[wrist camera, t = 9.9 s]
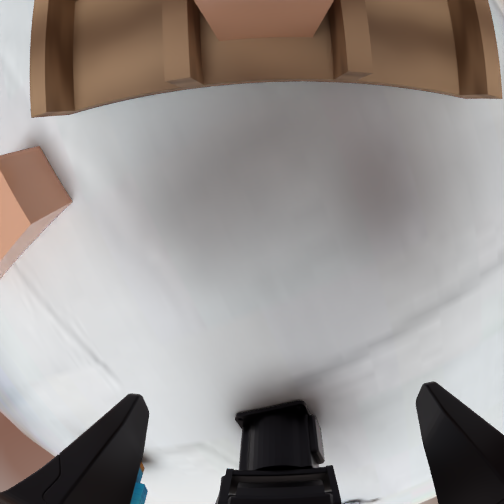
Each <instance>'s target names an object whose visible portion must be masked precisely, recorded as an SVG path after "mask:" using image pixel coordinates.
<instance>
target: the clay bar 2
mask: <svg viewBox="0 0 504 504" xmlns="http://www.w3.org/2000/svg"><path fill="white" fill-rule="evenodd" d="M333 1H334V0H194V2H195V3H196V5H197V6H198V8H199V9H200V11H201V13H202V14H203V16H204V17H205V19H206V21H207V22H208V24H209V25H210V27H211V29H212V30H213V32H214V34H215V35H216V37H217V39H218V40H219V41H225V40H235V39H249V38H268V37H313V36H314V34H315V32H316V31H317V29H318V27H319V25H320V23H321V22H322V20H323V18H324V17H325V15H326V13H327V11H328V10H329V8H330V6H331V5H332V3H333Z"/></svg>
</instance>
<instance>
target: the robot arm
mask: <svg viewBox="0 0 504 504" xmlns="http://www.w3.org/2000/svg"><path fill="white" fill-rule="evenodd" d="M416 409H417V414H418V419H419V424H420V430H421V436H422V441H423V445H424V449H425V453H426V456H427V460H428V464H429V467H430V471H431V475H432V479H433V483H434V487H435V491H436V495H437V499H438V503H439V504H504V435H503V434H502V433H500V432H499V431H498V430H497V429H495V428H494V427H493V426H492V425H490V424H489V423H488V422H486V421H485V420H484V419H483V418H481V417H480V416H479V415H477V414H476V413H475V412H474V411H472V410H471V409H470V408H468V407H467V406H466V405H465V404H463V403H462V402H461V401H459V400H458V399H457V398H456V397H454V396H453V395H452V394H450V393H449V392H448V391H447V390H445V389H444V388H443V387H441V386H440V385H439V384H438V383H436V382H428V383H424V384H423V385H422V387H421V389H420V392H419V394H418V397H417V399H416ZM148 419H149V410H148V408H147V406H146V403H145V401H144V399H143V397H142V396H141V395H140V394H128V395H127V396H126V397H125V398H123V399H122V400H121V401H120V402H119V403H118V404H117V405H115V406H114V407H113V408H112V409H111V410H110V411H109V412H107V413H106V414H105V415H104V416H103V417H102V418H100V419H99V420H98V421H97V422H96V423H95V424H93V425H92V426H91V427H90V428H89V429H88V430H87V431H85V432H84V433H83V434H82V435H81V436H79V437H78V438H77V439H76V440H75V441H74V442H72V443H71V444H70V445H69V446H68V447H67V448H65V449H64V450H63V451H62V452H61V453H60V455H57V456H56V457H55V458H54V459H52V460H51V461H50V462H49V463H47V464H46V465H45V466H43V467H42V468H41V469H39V470H38V471H36V472H35V473H33V474H32V475H30V476H29V477H27V478H26V479H24V480H23V481H21V482H19V483H18V484H16V485H15V486H13V487H11V488H10V489H8V490H6V491H4V492H0V504H130V503H131V499H132V495H133V491H134V487H135V483H136V480H137V476H138V472H139V468H140V465H141V461H142V457H143V452H144V446H145V439H146V432H147V426H148ZM235 420H236V422H237V423H238V424H239V426H240V427H241V428H242V438H241V450H240V462H239V470H234V469H227V470H226V475H225V476H223V477H222V478H221V486H220V492H219V495H218V498H217V501H216V503H215V504H341V498H340V494H339V490H338V485H337V481H336V477H335V473H334V469H333V465H330V466H326V467H319V464H322V463H323V462H324V461H325V460H324V452H323V443H322V436H321V428H320V426H319V424H318V422H317V419H316V417H315V416H314V415H310V413H309V411H308V408H307V406H306V404H305V402H304V401H301V400H299V401H294V402H290V403H286V404H282V405H277V406H273V407H268V408H263V409H259V410H254V411H248V412H243V413H238V414H236V416H235Z"/></svg>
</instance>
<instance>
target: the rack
mask: <svg viewBox="0 0 504 504" xmlns="http://www.w3.org/2000/svg"><path fill="white" fill-rule="evenodd" d="M287 81H316V82H344V83H360V84H373V85H383V86H392V87H400V88H408V89H415V90H422V91H428V92H434V93H439V94H445V95H450V96H455V97H460V98H464V99H481V98H486V99H502V86H501V74H500V65H499V57H498V49H497V43H496V37H495V31H494V26H493V21H492V16H491V11H490V7H489V3H488V0H334V1H333V3H332V5H331V6H330V8H329V10H328V11H327V13H326V15H325V17H324V18H323V20H322V22H321V23H320V25H319V27H318V29H317V31H316V32H315V34H314V36H313V37H268V38H249V39H235V40H225V41H219V40H218V39H217V37H216V35H215V34H214V32H213V30H212V29H211V27H210V25H209V24H208V22H207V21H206V19H205V17H204V16H203V14H202V13H201V11H200V9H199V8H198V6H197V5H196V3H195V2H194V0H35V1H34V9H33V18H32V30H31V46H30V101H31V118H34V117H45V116H59V115H70V114H74V113H77V112H81V111H84V110H88V109H92V108H95V107H99V106H103V105H107V104H111V103H116V102H120V101H125V100H129V99H134V98H139V97H144V96H149V95H155V94H160V93H166V92H172V91H179V90H186V89H193V88H201V87H210V86H219V85H230V84H242V83H259V82H287Z"/></svg>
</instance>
